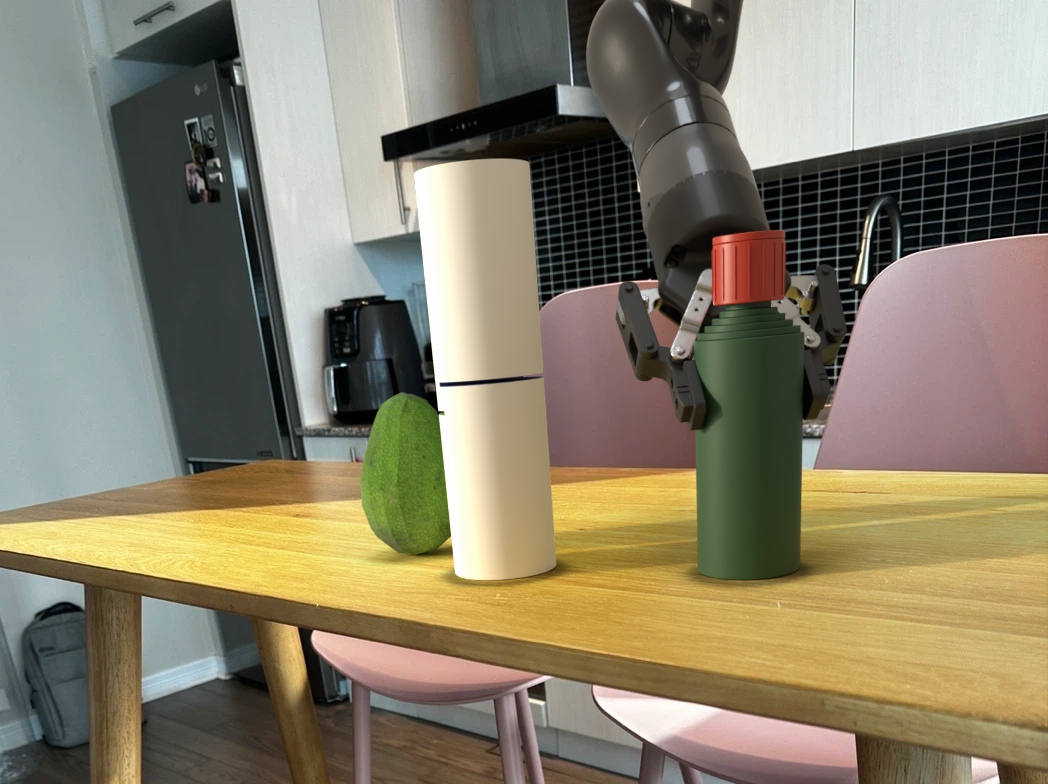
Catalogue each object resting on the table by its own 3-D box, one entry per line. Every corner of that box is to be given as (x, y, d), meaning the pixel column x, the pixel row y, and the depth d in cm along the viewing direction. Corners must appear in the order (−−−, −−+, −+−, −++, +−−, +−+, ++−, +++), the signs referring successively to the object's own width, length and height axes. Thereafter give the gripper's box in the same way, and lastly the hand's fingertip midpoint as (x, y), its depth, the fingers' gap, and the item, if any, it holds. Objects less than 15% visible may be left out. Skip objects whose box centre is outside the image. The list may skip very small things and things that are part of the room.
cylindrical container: (498, 584, 67) (460, 156, 59) (435, 572, 73) (391, 177, 64) (577, 563, 72) (553, 160, 63) (512, 552, 77) (481, 179, 68)
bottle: (760, 552, 70) (761, 246, 63) (821, 568, 64) (830, 234, 57) (679, 567, 68) (671, 252, 61) (735, 585, 62) (733, 241, 55)
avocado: (431, 566, 75) (411, 394, 71) (349, 562, 79) (326, 399, 75) (491, 543, 81) (476, 384, 77) (412, 541, 85) (394, 389, 81)
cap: (757, 302, 63) (757, 236, 61) (799, 298, 59) (800, 228, 58) (699, 307, 61) (698, 240, 60) (739, 303, 58) (738, 232, 56)
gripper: (599, 176, 64) (645, 382, 57) (825, 157, 65) (897, 359, 58) (591, 273, 71) (630, 467, 64) (795, 255, 72) (856, 446, 65)
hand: (757, 415), depth 61 cm, fingers closed on bottle, 6 cm apart
